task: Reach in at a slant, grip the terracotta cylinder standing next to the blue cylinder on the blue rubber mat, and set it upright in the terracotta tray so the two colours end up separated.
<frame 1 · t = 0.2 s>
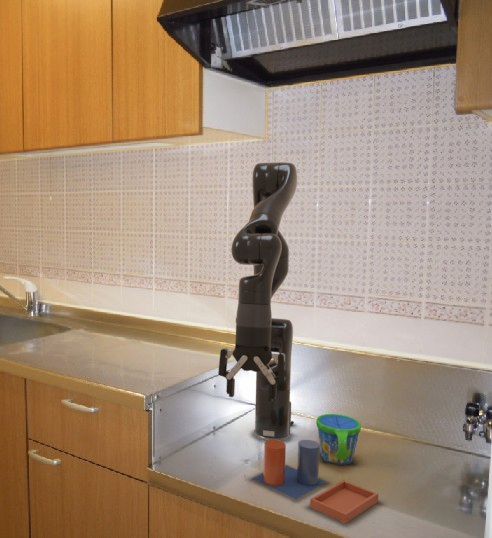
hand: (250, 398, 124), 22 cm above the table, tool pointing down, fingers open, 8 cm apart
blue mat: (288, 481, 133), on the table
terracotta tray: (344, 505, 122), on the table
snack cup: (336, 460, 144), on the table
blue cylinder: (307, 481, 133), resting on blue mat
terracotta cylinder: (273, 481, 133), resting on blue mat
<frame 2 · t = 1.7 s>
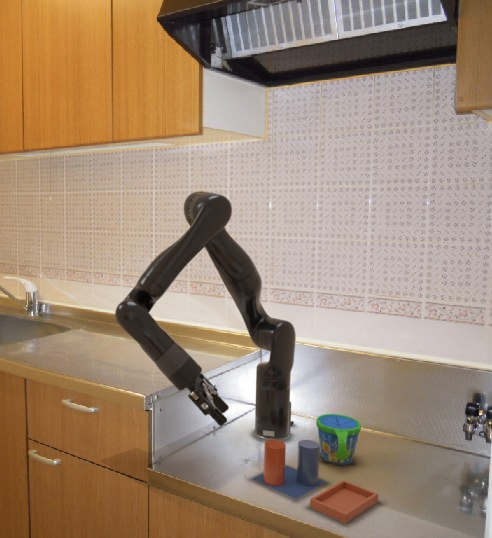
hand: (225, 416, 133), 15 cm above the table, tool tilted 45°, fingers open, 8 cm apart
nothing on the table moved.
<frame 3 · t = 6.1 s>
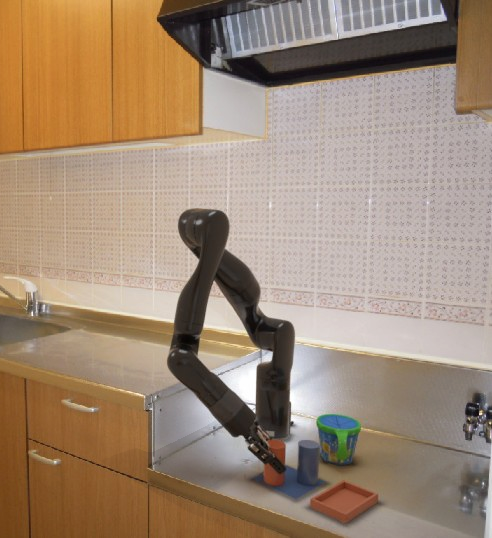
hand: (282, 466, 132), 4 cm above the table, tool tilted 45°, fingers closed on terracotta cylinder, 5 cm apart
terracotta cylinder: (273, 481, 133), resting on blue mat, touching gripper
everything else where it was.
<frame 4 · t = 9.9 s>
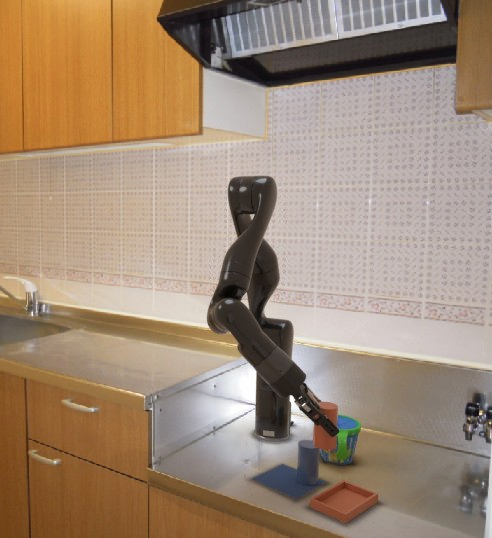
hand: (334, 429, 123), 16 cm above the table, tool tilted 45°, fingers closed on terracotta cylinder, 4 cm apart
terracotta cylinder: (324, 445, 124), point 12 cm above the table, touching gripper
everything else where it was.
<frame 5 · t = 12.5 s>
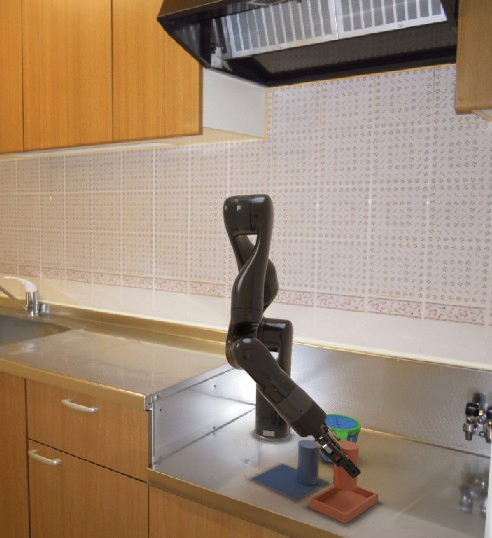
hand: (354, 468, 121), 8 cm above the table, tool tilted 45°, fingers closed on terracotta cylinder, 4 cm apart
terracotta cylinder: (344, 485, 122), point 5 cm above the table, touching gripper
everything else where it was.
when the fingers open (4 cm above the table, at t = 14.2 s): terracotta cylinder stays where it is, resting on terracotta tray.
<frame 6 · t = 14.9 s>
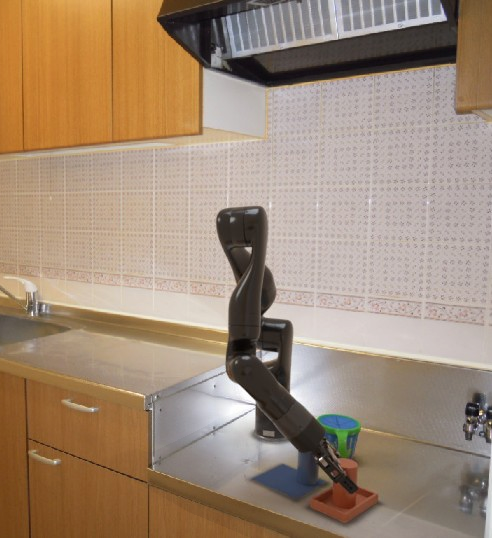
hand: (351, 481, 122), 6 cm above the table, tool tilted 45°, fingers open, 8 cm apart
terracotta cylinder: (343, 503, 122), point 1 cm above the table, touching terracotta tray
everything else where it was.
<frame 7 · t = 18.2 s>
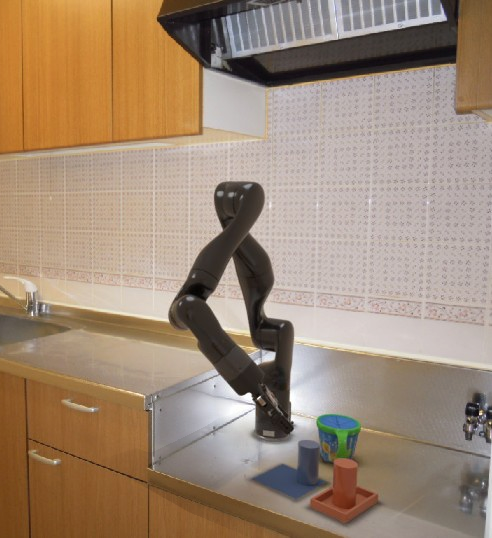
hand: (288, 424, 124), 17 cm above the table, tool tilted 45°, fingers open, 8 cm apart
nothing on the table moved.
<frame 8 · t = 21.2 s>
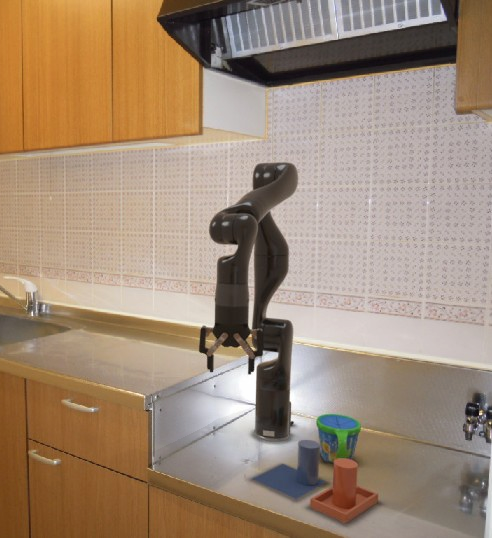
hand: (230, 372, 130), 26 cm above the table, tool pointing down, fingers open, 8 cm apart
nothing on the table moved.
at the end: terracotta cylinder inside the target area in the terracotta tray (0.2 cm from its centre), point 0.6 cm above the terracotta tray's base; terracotta cylinder tilted 0°; blue cylinder inside the target area on the blue mat (4.2 cm from its centre), point 0.3 cm above the blue mat's base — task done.
